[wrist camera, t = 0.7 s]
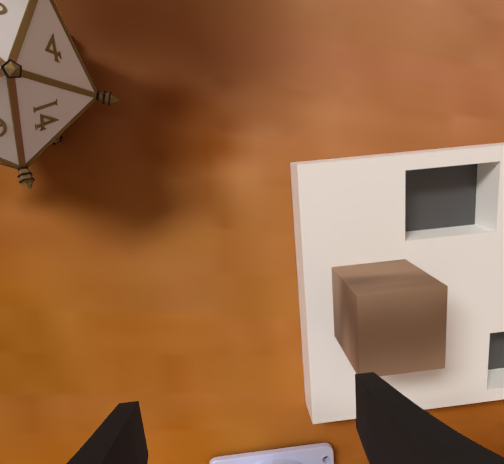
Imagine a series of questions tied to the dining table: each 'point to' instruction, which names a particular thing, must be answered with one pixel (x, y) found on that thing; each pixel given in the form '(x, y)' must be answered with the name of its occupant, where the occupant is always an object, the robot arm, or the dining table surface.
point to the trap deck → (413, 250)
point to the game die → (38, 82)
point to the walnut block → (390, 317)
